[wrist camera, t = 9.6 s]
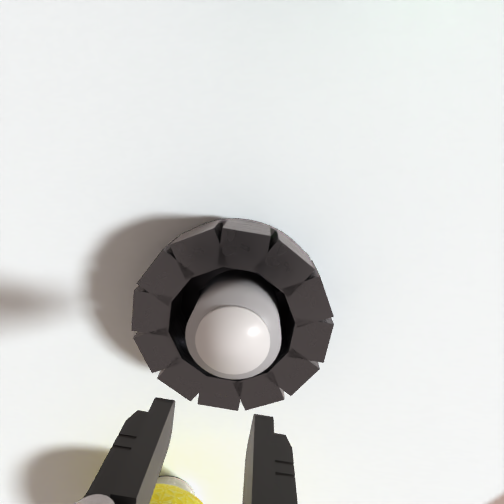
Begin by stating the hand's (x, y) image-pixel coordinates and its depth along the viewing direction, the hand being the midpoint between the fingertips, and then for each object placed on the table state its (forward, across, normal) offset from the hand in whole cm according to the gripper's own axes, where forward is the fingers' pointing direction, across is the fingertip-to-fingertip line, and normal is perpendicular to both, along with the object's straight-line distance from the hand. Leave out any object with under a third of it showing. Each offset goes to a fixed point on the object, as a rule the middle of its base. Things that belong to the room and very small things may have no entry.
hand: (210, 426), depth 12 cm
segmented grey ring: (+11, 0, 0) cm, 11 cm away
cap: (+10, 0, 0) cm, 10 cm away
